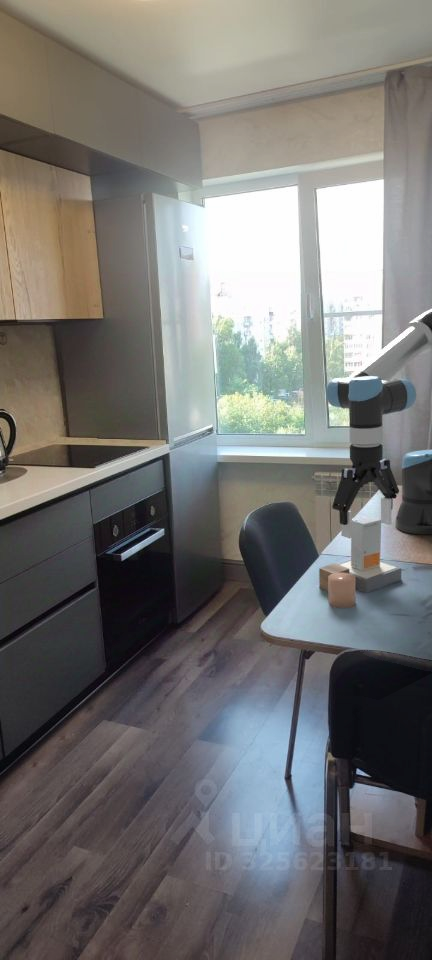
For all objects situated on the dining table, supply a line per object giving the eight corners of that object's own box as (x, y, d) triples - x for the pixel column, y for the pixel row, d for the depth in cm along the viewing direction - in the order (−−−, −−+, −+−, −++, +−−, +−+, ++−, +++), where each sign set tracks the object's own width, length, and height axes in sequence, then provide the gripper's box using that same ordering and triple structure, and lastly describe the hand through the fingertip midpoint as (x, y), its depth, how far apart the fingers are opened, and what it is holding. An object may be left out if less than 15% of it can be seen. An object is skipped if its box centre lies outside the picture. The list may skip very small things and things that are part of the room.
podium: (364, 566, 173) (364, 554, 172) (401, 579, 163) (401, 567, 162) (330, 578, 166) (330, 566, 166) (366, 592, 157) (366, 580, 156)
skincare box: (362, 572, 161) (362, 524, 158) (350, 566, 165) (350, 520, 162) (381, 566, 164) (381, 519, 161) (369, 561, 167) (369, 515, 165)
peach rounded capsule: (341, 594, 156) (341, 570, 155) (361, 602, 152) (361, 578, 150) (322, 601, 153) (322, 577, 152) (341, 610, 148) (341, 584, 147)
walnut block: (334, 582, 164) (334, 563, 163) (349, 588, 160) (349, 568, 159) (319, 587, 161) (319, 568, 160) (334, 594, 157) (334, 574, 156)
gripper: (389, 433, 167) (390, 515, 172) (315, 450, 153) (318, 538, 158) (414, 437, 160) (413, 521, 166) (338, 455, 147) (340, 546, 152)
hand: (366, 530), depth 162 cm, fingers open, 13 cm apart
